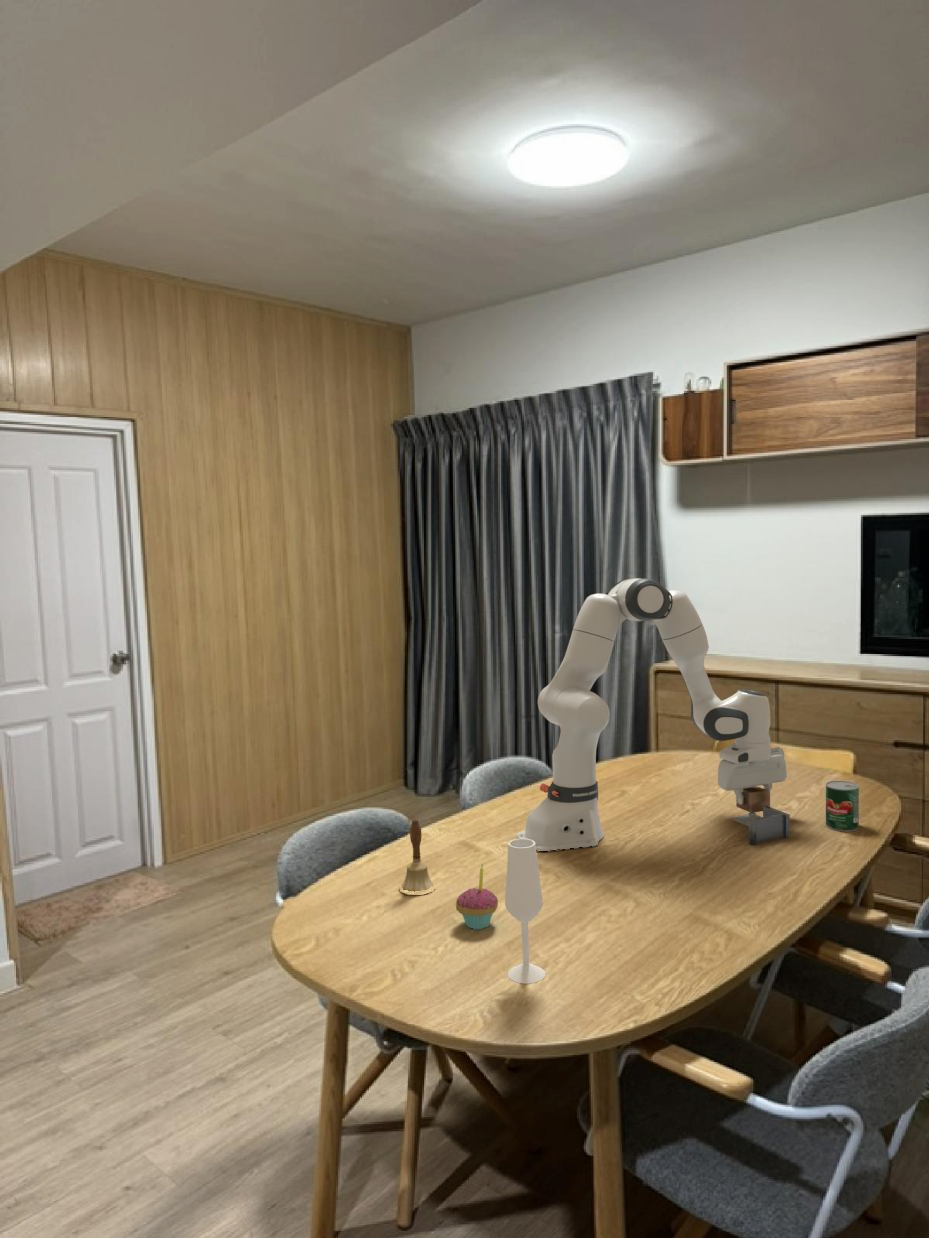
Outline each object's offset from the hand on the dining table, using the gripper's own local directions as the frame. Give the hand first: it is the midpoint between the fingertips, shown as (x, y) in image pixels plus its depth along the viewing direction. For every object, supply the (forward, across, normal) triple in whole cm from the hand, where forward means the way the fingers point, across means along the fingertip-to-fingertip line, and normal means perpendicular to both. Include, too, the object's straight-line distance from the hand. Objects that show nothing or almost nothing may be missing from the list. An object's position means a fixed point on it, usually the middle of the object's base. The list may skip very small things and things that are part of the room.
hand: (752, 801), depth 227 cm
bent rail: (+5, +6, +10) cm, 13 cm away
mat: (+5, 0, 0) cm, 5 cm away
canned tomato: (+5, -17, +14) cm, 23 cm away
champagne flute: (+6, +89, +45) cm, 100 cm away
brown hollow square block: (+2, 0, 0) cm, 2 cm away
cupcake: (+6, +89, +23) cm, 92 cm away
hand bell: (+6, +94, 0) cm, 95 cm away
